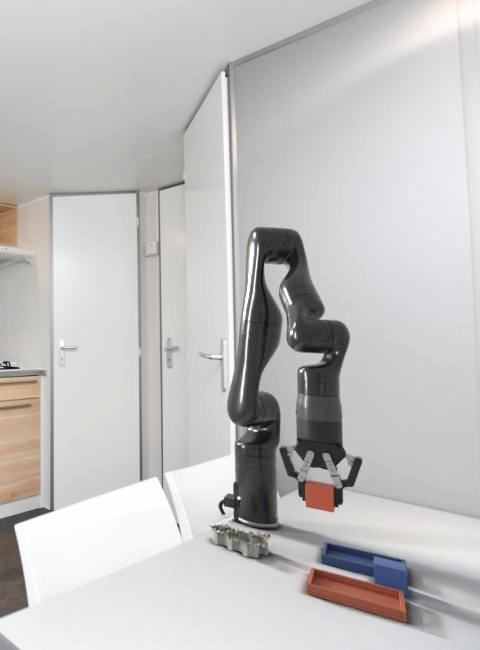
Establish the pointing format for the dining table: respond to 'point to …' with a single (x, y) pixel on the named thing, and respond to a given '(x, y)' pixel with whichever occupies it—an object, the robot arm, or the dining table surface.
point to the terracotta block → (319, 495)
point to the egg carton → (241, 540)
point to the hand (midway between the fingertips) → (320, 502)
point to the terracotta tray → (357, 594)
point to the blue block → (391, 574)
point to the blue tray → (352, 558)
